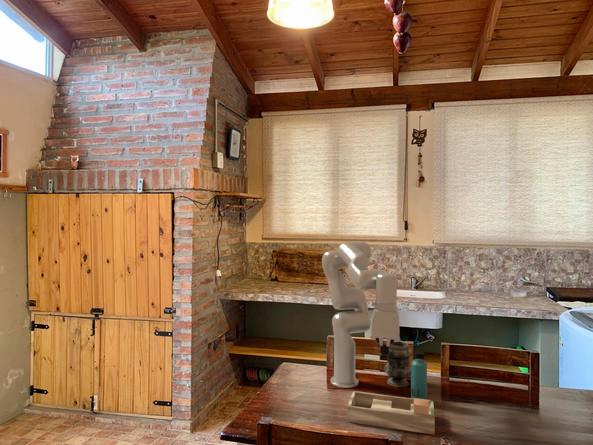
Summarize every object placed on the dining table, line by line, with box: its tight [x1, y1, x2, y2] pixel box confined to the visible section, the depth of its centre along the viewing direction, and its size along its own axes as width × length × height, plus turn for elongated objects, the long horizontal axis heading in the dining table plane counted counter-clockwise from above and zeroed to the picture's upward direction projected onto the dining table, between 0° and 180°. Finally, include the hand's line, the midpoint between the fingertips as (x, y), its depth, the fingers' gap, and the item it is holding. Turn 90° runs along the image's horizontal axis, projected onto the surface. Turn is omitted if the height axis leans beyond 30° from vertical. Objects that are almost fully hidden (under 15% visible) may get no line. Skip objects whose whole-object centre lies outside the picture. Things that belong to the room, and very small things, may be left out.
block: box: [414, 398, 430, 416], centre depth 143 cm, size 5×5×5 cm
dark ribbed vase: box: [383, 340, 413, 388], centre depth 183 cm, size 12×12×18 cm
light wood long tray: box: [346, 390, 436, 436], centre depth 150 cm, size 14×30×6 cm, turn 74°
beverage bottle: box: [410, 350, 428, 400], centre depth 164 cm, size 6×7×20 cm
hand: (384, 355), depth 151 cm, fingers closed
